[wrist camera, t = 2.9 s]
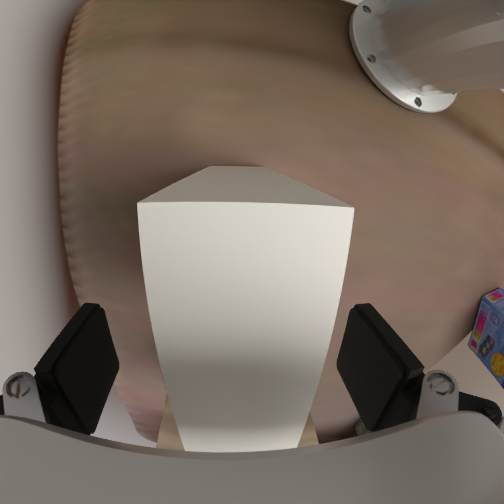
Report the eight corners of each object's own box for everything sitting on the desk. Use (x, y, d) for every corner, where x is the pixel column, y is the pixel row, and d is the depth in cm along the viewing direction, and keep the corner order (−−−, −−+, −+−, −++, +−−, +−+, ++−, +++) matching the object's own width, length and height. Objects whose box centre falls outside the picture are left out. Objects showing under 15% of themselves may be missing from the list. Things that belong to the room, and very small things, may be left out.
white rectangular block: (194, 165, 19) (82, 205, 4) (263, 166, 20) (354, 207, 5) (197, 286, 23) (161, 462, 8) (257, 286, 23) (290, 463, 8)
